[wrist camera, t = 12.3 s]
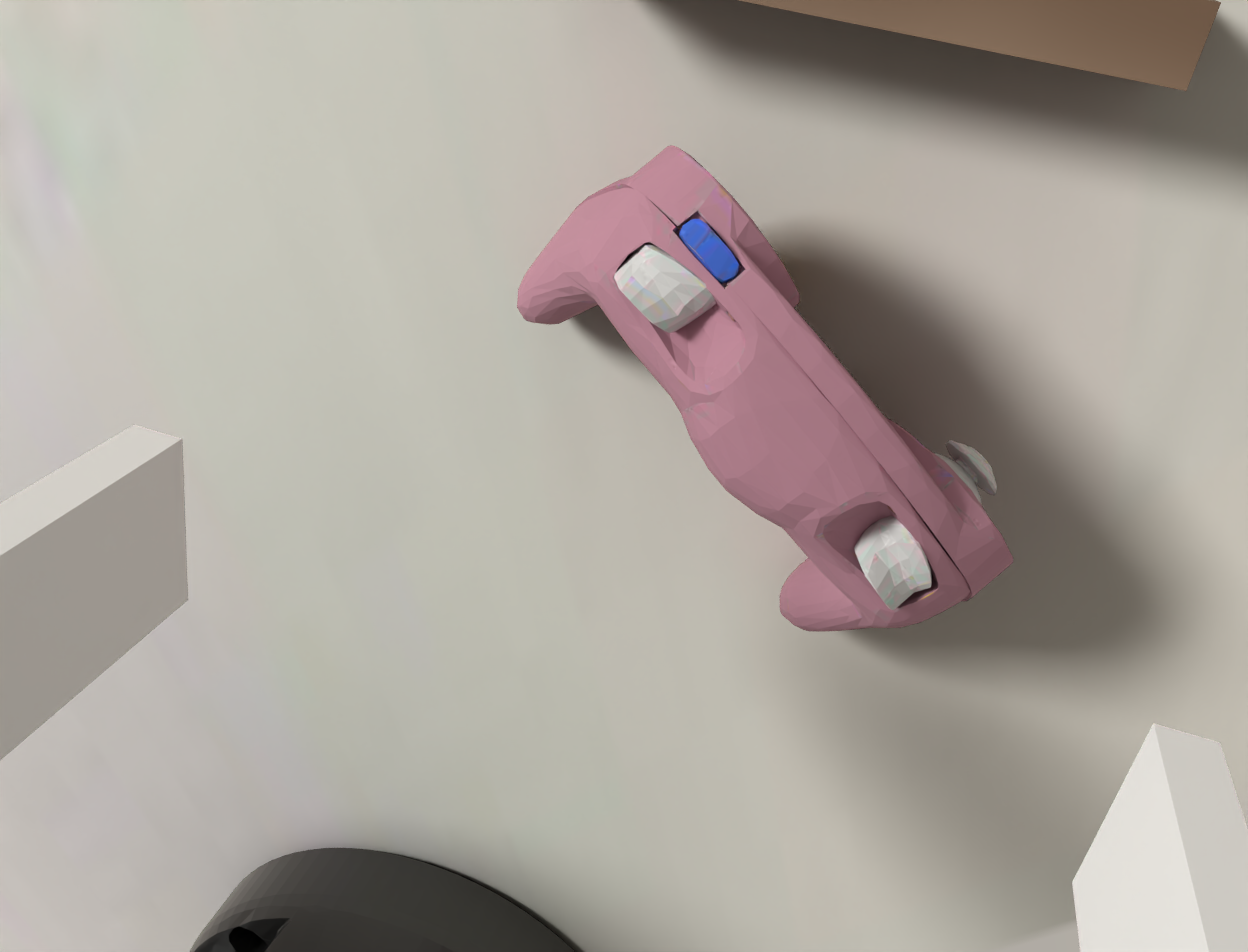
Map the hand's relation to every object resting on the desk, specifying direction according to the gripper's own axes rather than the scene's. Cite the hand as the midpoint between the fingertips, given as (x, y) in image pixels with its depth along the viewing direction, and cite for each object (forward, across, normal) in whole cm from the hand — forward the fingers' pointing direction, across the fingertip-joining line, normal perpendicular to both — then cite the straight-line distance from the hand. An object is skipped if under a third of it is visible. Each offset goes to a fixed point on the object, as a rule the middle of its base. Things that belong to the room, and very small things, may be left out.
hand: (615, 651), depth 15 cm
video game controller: (+10, -1, -1) cm, 10 cm away
